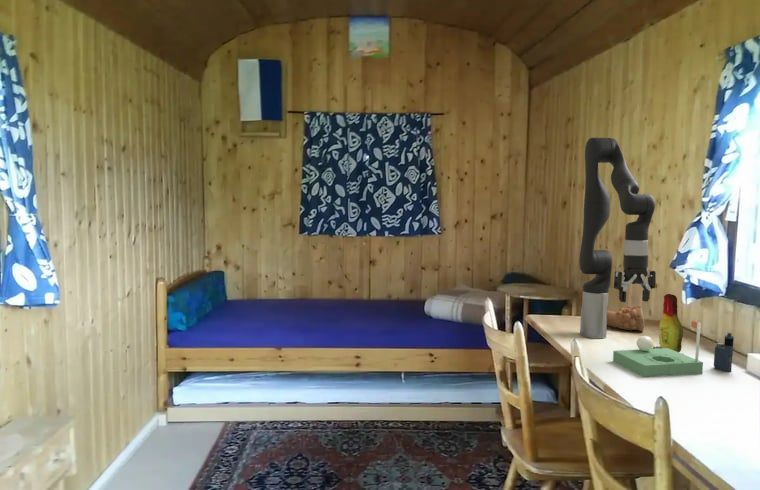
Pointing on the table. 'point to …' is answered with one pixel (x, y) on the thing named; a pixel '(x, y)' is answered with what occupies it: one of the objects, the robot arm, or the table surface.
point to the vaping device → (724, 354)
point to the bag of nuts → (627, 318)
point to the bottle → (670, 325)
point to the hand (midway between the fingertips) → (634, 301)
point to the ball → (645, 343)
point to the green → (660, 360)
